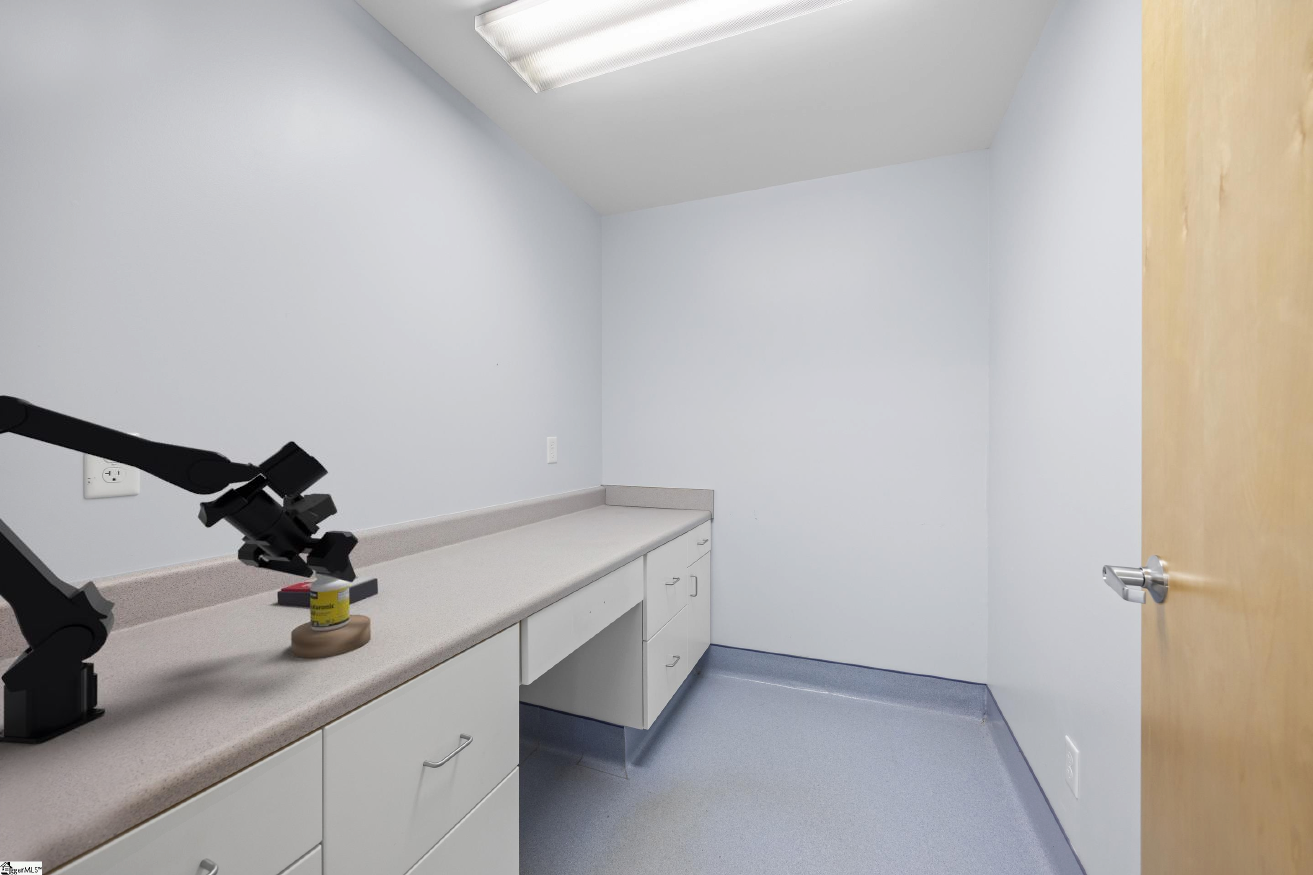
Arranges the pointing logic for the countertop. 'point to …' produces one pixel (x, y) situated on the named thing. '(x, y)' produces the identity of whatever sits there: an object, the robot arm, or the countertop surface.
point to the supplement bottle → (329, 603)
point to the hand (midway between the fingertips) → (332, 577)
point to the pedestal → (330, 638)
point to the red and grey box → (301, 591)
